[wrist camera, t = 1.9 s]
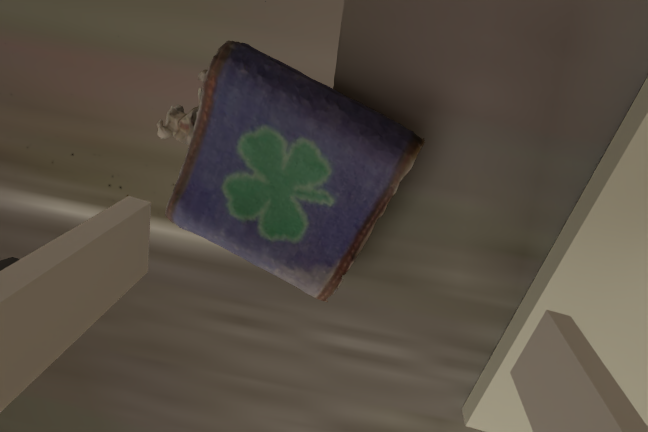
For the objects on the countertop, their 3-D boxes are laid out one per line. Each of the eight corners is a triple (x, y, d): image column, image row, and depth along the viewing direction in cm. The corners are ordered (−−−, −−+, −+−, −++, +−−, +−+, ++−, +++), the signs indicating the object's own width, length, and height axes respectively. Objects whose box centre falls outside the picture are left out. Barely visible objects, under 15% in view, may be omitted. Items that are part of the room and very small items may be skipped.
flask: (323, 314, 19) (124, 208, 19) (333, 281, 21) (159, 189, 21) (428, 144, 15) (176, 9, 15) (424, 130, 17) (211, 16, 17)
